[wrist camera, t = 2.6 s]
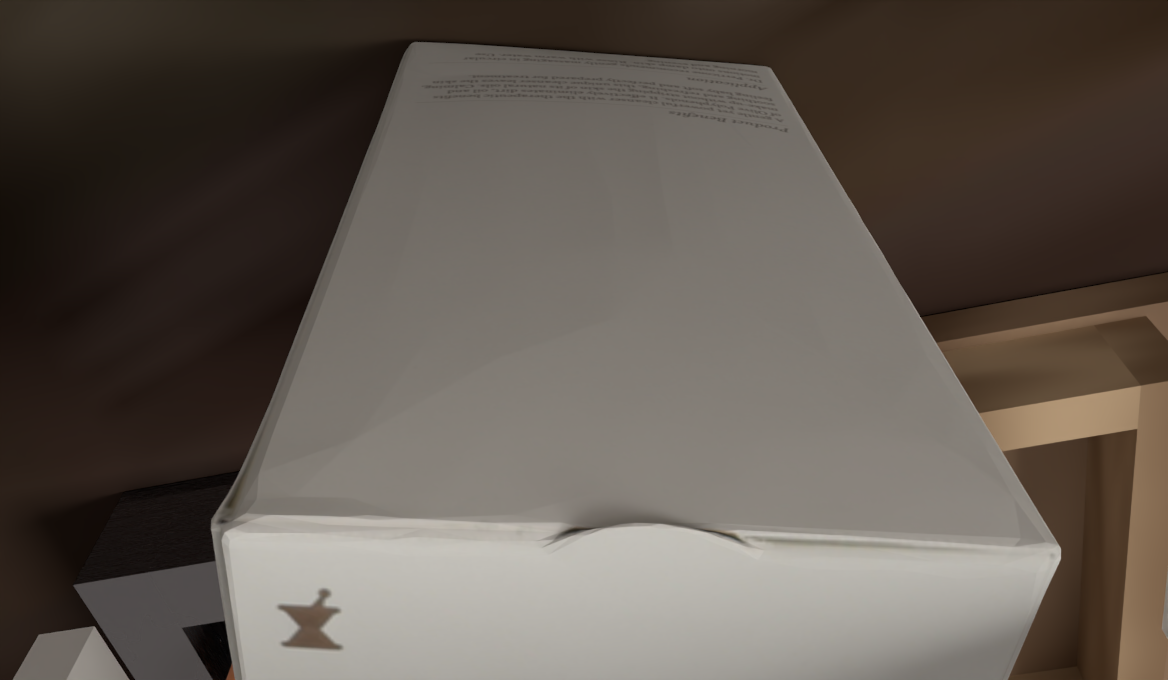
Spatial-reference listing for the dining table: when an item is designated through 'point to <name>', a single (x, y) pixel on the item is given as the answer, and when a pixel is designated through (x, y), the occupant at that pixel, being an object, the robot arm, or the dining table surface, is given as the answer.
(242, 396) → the dining table surface
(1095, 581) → the wooden tray
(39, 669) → the robot arm
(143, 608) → the button housing
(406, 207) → the skincare box
